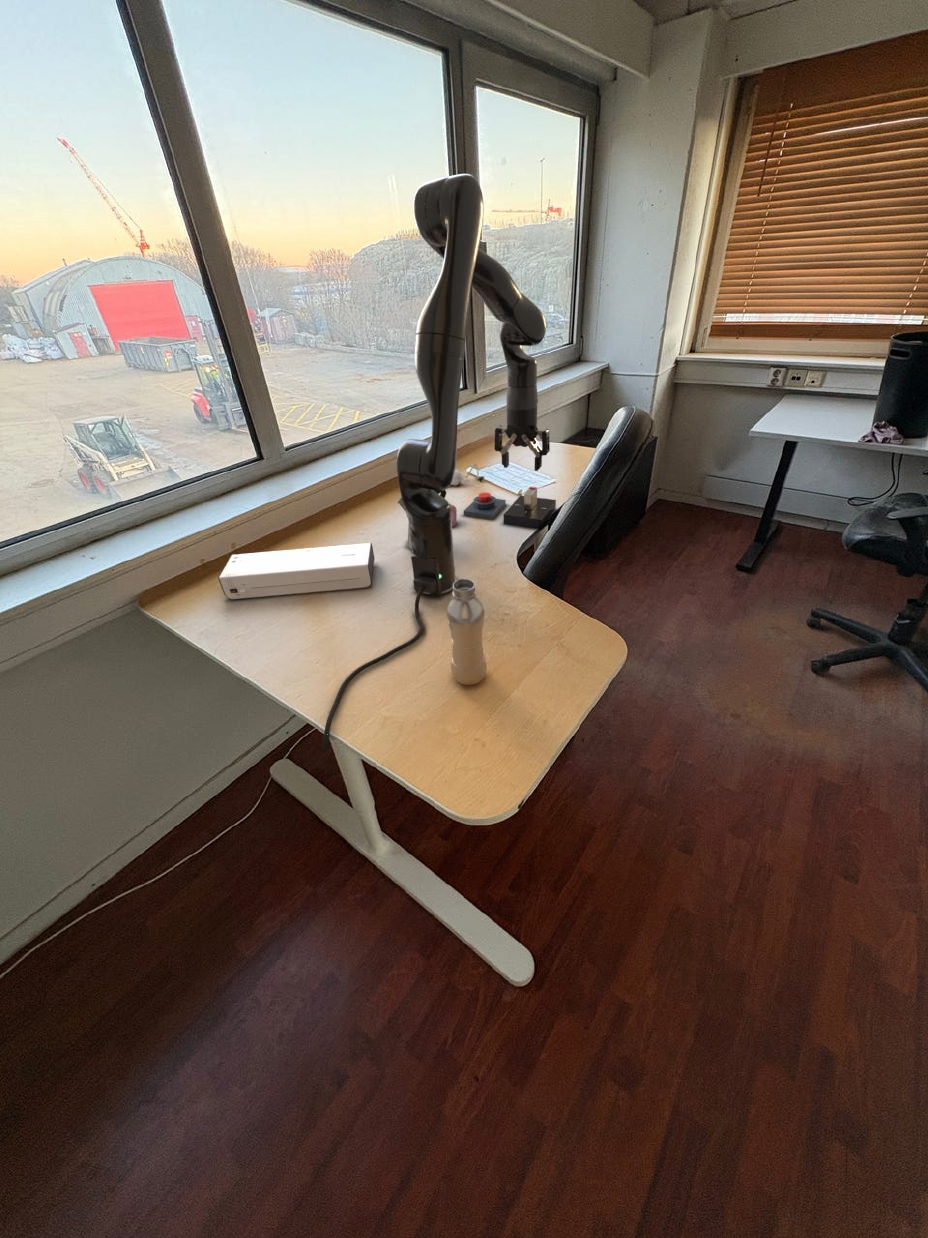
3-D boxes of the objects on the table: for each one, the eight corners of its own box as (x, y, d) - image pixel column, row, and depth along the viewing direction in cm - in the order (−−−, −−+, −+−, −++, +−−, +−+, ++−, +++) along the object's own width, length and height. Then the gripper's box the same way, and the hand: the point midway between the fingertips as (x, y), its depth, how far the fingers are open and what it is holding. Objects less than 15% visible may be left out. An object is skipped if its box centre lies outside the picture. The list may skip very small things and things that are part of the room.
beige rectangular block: (531, 510, 141) (531, 493, 138) (523, 509, 142) (524, 492, 139) (536, 503, 145) (537, 487, 142) (529, 502, 146) (529, 486, 143)
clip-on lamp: (480, 482, 176) (429, 473, 175) (484, 464, 173) (432, 455, 171) (482, 492, 166) (428, 483, 164) (486, 473, 163) (430, 463, 161)
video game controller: (457, 526, 146) (457, 501, 145) (455, 526, 141) (455, 501, 140) (424, 526, 147) (423, 502, 146) (421, 526, 142) (420, 501, 141)
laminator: (375, 564, 128) (371, 542, 124) (372, 590, 118) (368, 567, 114) (239, 575, 126) (232, 554, 123) (225, 603, 116) (216, 580, 113)
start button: (488, 503, 146) (488, 497, 145) (476, 502, 148) (476, 496, 147) (492, 498, 149) (492, 493, 148) (481, 497, 150) (481, 491, 149)
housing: (492, 520, 145) (492, 508, 143) (463, 516, 148) (463, 504, 146) (505, 505, 153) (505, 494, 150) (478, 501, 156) (478, 490, 154)
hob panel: (541, 529, 138) (541, 519, 136) (503, 524, 142) (503, 513, 140) (555, 509, 148) (556, 499, 146) (519, 504, 152) (520, 494, 150)
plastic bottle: (485, 663, 95) (482, 572, 83) (488, 689, 89) (485, 595, 78) (451, 665, 95) (443, 574, 83) (452, 691, 89) (443, 597, 78)
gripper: (489, 407, 124) (491, 471, 134) (545, 409, 119) (543, 476, 129) (500, 398, 129) (501, 461, 139) (554, 401, 124) (551, 465, 134)
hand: (521, 468), depth 134 cm, fingers open, 8 cm apart
